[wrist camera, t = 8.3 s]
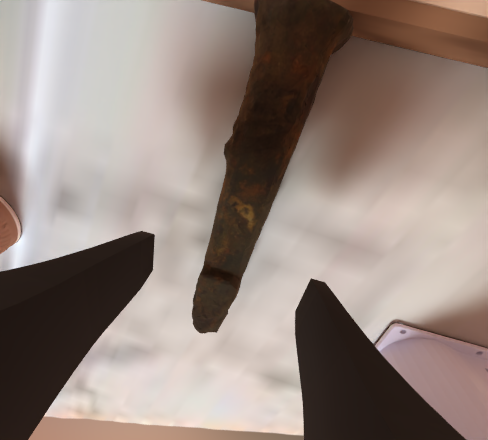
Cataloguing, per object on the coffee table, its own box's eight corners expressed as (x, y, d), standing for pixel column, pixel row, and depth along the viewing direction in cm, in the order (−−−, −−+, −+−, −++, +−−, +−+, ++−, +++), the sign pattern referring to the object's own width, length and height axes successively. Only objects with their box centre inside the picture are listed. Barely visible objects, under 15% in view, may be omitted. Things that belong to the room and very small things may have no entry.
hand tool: (264, 13, 12) (256, -63, 7) (340, 43, 12) (383, -12, 7) (185, 286, 22) (158, 334, 17) (227, 302, 22) (213, 354, 17)
